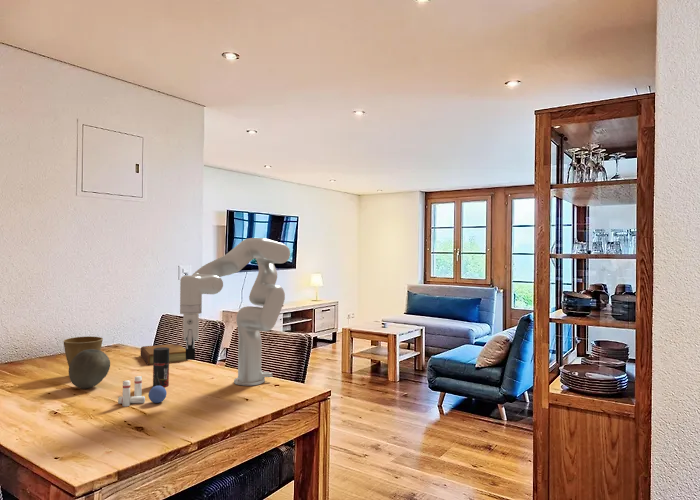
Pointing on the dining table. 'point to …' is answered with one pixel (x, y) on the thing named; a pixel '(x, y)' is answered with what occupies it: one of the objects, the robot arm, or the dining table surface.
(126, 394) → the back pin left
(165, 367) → the deodorant
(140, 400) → the front pin
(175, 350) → the diary
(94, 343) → the plant pot
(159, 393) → the ball
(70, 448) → the dining table surface
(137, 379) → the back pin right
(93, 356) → the grey rock
